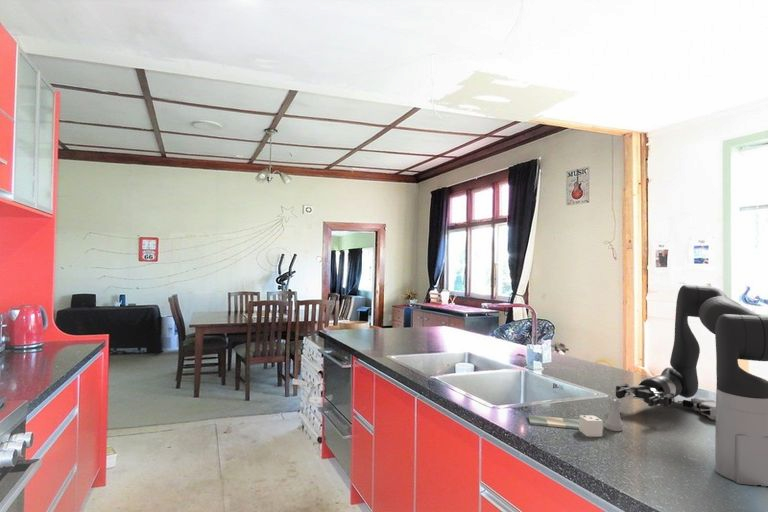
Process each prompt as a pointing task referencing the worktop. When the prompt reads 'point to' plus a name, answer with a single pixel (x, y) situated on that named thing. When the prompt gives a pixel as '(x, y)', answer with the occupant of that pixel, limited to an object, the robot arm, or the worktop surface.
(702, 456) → the worktop surface
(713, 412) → the robot toy
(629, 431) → the worktop surface
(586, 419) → the die
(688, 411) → the worktop surface
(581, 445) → the worktop surface
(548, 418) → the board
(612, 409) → the rook chess piece
